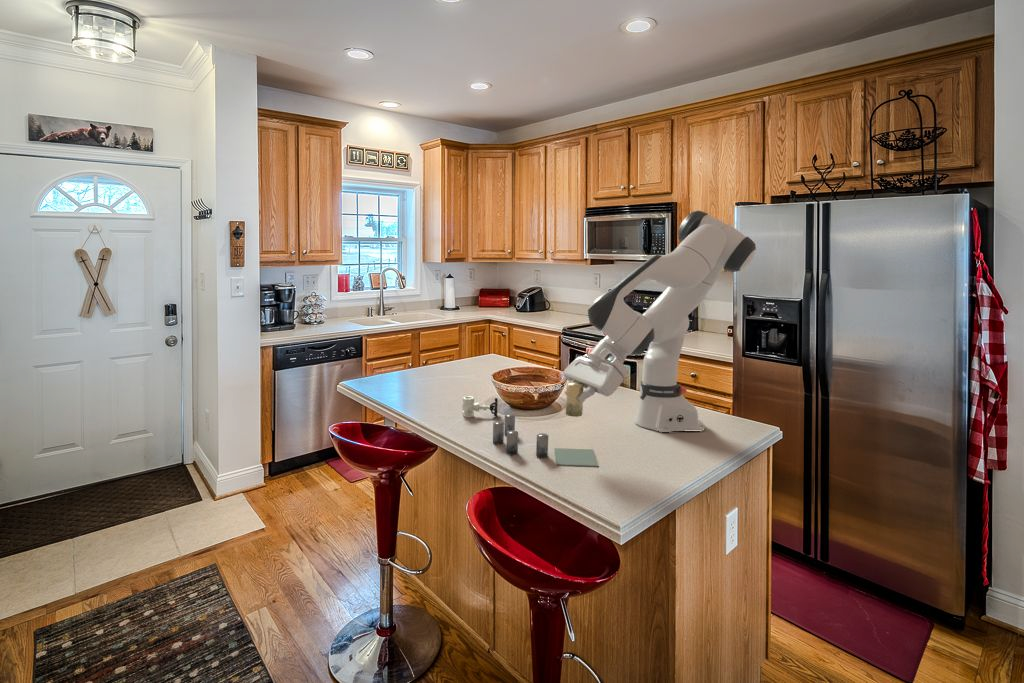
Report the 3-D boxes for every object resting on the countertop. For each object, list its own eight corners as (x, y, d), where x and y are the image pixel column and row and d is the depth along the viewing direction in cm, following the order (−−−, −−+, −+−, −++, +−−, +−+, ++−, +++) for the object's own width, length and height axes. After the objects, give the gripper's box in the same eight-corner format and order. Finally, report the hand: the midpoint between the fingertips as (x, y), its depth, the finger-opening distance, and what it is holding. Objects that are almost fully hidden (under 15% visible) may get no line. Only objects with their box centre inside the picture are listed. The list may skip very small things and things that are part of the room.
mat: (592, 450, 154) (592, 449, 153) (598, 466, 142) (598, 465, 142) (554, 449, 154) (554, 448, 154) (556, 465, 142) (556, 464, 142)
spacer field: (511, 431, 168) (512, 413, 167) (549, 457, 147) (550, 436, 147) (483, 435, 164) (483, 417, 163) (518, 462, 143) (519, 441, 142)
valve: (461, 419, 180) (496, 419, 180) (461, 400, 179) (497, 400, 179) (463, 413, 187) (497, 414, 187) (463, 395, 186) (497, 395, 186)
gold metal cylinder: (581, 412, 149) (582, 382, 147) (583, 416, 144) (584, 386, 143) (565, 411, 149) (566, 381, 147) (566, 416, 144) (567, 385, 143)
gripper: (577, 346, 156) (547, 382, 153) (620, 359, 138) (587, 399, 135) (589, 360, 159) (559, 396, 156) (633, 374, 141) (601, 415, 138)
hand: (573, 398), depth 145 cm, fingers closed on gold metal cylinder, 4 cm apart
